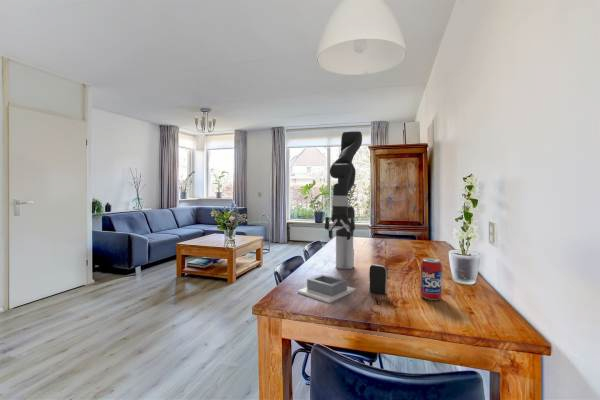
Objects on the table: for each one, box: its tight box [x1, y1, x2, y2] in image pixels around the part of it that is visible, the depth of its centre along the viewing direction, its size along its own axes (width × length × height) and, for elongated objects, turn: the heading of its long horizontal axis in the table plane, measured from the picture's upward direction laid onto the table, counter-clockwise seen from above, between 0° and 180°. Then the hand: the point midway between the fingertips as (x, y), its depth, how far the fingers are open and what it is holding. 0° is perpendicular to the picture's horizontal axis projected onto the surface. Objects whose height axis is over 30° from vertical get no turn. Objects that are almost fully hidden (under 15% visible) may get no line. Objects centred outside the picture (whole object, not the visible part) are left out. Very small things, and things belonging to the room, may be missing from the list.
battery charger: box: [368, 263, 389, 295], centre depth 122 cm, size 7×4×11 cm, turn 55°
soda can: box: [419, 257, 443, 301], centre depth 115 cm, size 8×8×15 cm
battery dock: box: [297, 273, 356, 304], centre depth 123 cm, size 18×16×5 cm
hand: (339, 239), depth 142 cm, fingers open, 8 cm apart
